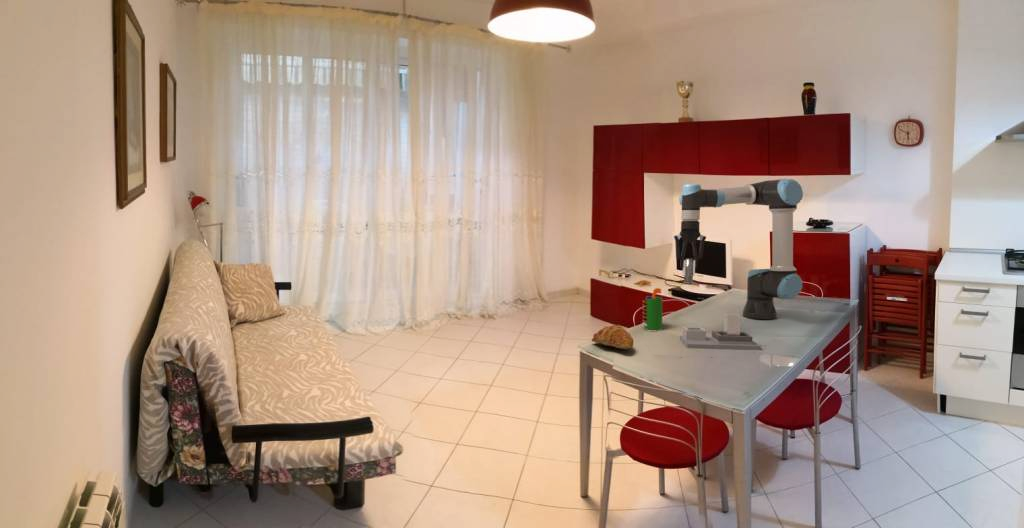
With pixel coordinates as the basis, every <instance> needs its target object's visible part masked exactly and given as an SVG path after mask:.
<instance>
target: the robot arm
mask: <svg viewBox="0 0 1024 528" xmlns="http://www.w3.org/2000/svg"><path fill="white" fill-rule="evenodd" d="M701 187H702V186H701V184H699V183H687V184H686V183H685V184H684V185H683V186H682V190H681V194H680V196H679V204H680V206H681V221H680V232H679V234H676V235H673V239H674V241H675V257H676V259H679V261H680V262H679V263H680V264H679V265H680V268H681V269H682V276H683V277H684V276H685V271H686V260H685V257H686V251H687V246H688V243H691V245H692V254H693V277H695V275H696V268H697V269H698V263H699V262H698V261H699V260H702V259H703V257H704V255H703V254H704V249H705V248H704V247H705V246H704V245H705V241H706V239H707V236H705V235H702V233H701V232H700V220H701V219H700V218H701V217H700V216H701V208H715V209H716V208H721V207H722V206H724V205H725V206H726V205H727V206H728V205H736V204H739V205H740V204H745V205H747V206H750V205H751V206H754V205H755V206H756V205H759V206H767V207H768V211H770V212H771V213H772V216H771V217H772V219H771V220H772V226H771V227H772V232H771V233H772V234H771V235H772V236H771V237H772V238H771V239H772V240H771V241H772V242H771V243H772V246H771V247H772V254H771V256H772V260H771V261H772V262H771V263H772V265H771V266H770V267H769V268H761V269H760V268H755V269H750V270H749V271H748V272H747V288H746V289H747V290H746V295H747V296H746V303H745V304H744V307H743V310H742V317H744V318H748V319H757V320H774V319H775V320H776V319H777V313H778V312H777V311H776V306H775V304H774V303H775V302H774V298H776V299H781V300H793V299H795V298H796V297H798V296H799V294H800V293H801V291H802V289H803V280H802V278H801V276H800V275H798V274H797V268H796V267H795V266H794V212H795V211H797V207H798V204H800V203H801V201H802V200H803V196H804V192H803V188H802V185H801V184H800V183H799V182H798V181H797V180H795V179H793V178H780V179H771V180H769V179H768V180H764V181H760V182H755V183H747V184H744V185H743V186H738V187H727V188H726V187H724V188H723V187H722V188H713V189H704V188H703V189H702V188H701ZM680 239H682V240H683V243H682V248H681V250H680ZM698 239H699V240H700V241H699V248H697V240H698ZM697 249H699V250H697ZM680 251H681V253H680Z"/></svg>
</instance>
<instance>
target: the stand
mask: <svg viewBox="0 0 1024 528" xmlns="http://www.w3.org/2000/svg"><path fill="white" fill-rule="evenodd" d="M679 340H680V341H681V342H682V344H683V345H684V346H685V347H686V348H687V349H717V350H718V349H719V350H747V351H749V350H750V351H751V350H753V351H761V350H762V347H761V346H762V345H760V344H758V343H757V342H755V341H754V340H753V336H752V335H750V334H749V333H747V332H746V331H740V336H724V330H711V336H707V329H705V328H703V327H701V326H700V327H693V326H690V327H689V326H683V327H682V335H680V336H679Z"/></svg>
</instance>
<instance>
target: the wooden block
mask: <svg viewBox="0 0 1024 528" xmlns="http://www.w3.org/2000/svg"><path fill="white" fill-rule="evenodd" d="M723 315H724V316H723V331H724V336H740V332H741V319H742V316H741V314H739V313H734V312H729V313H728V312H725V313H723Z"/></svg>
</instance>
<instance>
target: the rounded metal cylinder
mask: <svg viewBox="0 0 1024 528" xmlns="http://www.w3.org/2000/svg"><path fill="white" fill-rule="evenodd" d="M684 260H686V271H685V276H683V277H684V278H683V282H684V283H687V284H688V283H689V284H691V283H693V282H694V279H693V278H694V276H693V260H694V258H684Z"/></svg>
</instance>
